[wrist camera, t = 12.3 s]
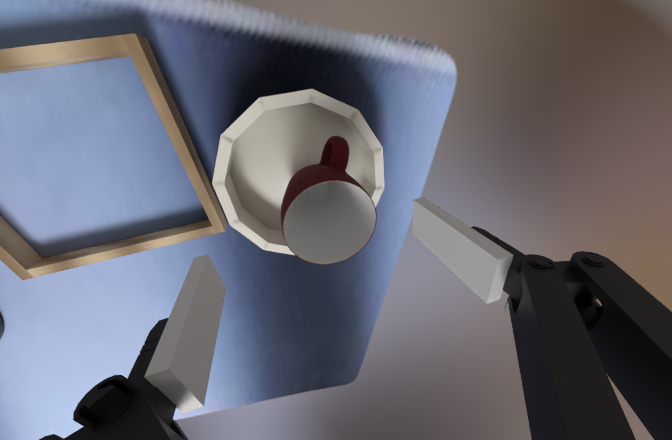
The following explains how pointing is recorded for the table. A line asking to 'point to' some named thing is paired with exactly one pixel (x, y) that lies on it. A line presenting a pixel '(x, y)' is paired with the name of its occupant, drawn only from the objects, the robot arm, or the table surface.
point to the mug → (327, 209)
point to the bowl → (287, 158)
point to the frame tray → (27, 263)
